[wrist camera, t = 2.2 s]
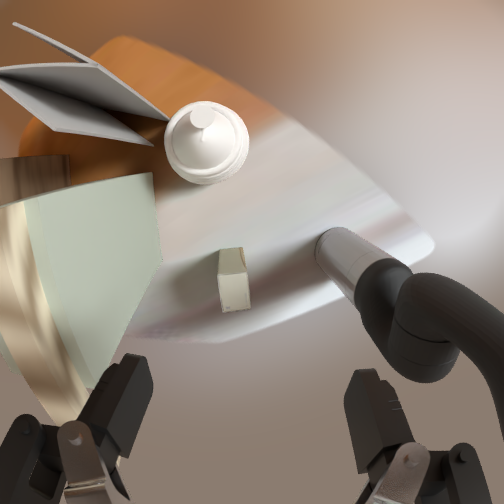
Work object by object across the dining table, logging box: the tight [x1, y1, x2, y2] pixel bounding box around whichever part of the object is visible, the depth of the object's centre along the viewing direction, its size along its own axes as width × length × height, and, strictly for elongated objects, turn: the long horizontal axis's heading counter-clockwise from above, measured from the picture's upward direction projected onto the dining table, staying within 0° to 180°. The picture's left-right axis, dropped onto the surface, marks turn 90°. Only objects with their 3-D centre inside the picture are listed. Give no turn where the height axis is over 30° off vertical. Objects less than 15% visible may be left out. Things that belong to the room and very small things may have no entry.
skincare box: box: [217, 247, 251, 313], centre depth 44 cm, size 6×4×12 cm
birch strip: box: [0, 201, 121, 467], centre depth 16 cm, size 26×4×3 cm, turn 2°
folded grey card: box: [0, 22, 171, 147], centre depth 25 cm, size 14×6×30 cm, turn 51°
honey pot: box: [164, 101, 249, 185], centre depth 34 cm, size 13×13×18 cm
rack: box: [0, 172, 163, 389], centre depth 29 cm, size 12×16×36 cm
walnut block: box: [0, 155, 71, 206], centre depth 31 cm, size 8×14×22 cm, turn 2°
